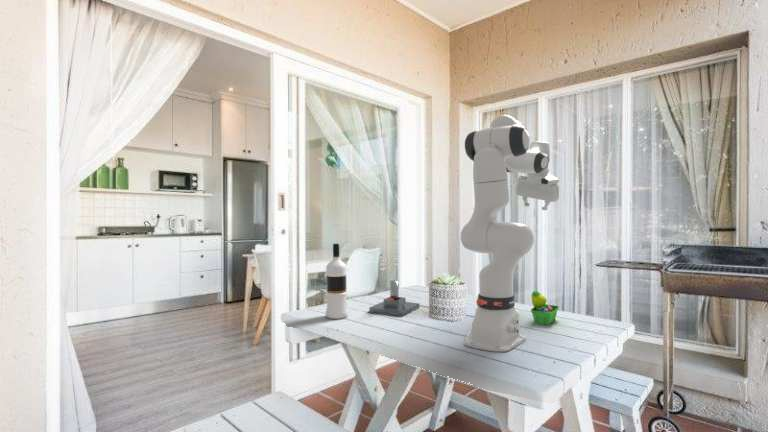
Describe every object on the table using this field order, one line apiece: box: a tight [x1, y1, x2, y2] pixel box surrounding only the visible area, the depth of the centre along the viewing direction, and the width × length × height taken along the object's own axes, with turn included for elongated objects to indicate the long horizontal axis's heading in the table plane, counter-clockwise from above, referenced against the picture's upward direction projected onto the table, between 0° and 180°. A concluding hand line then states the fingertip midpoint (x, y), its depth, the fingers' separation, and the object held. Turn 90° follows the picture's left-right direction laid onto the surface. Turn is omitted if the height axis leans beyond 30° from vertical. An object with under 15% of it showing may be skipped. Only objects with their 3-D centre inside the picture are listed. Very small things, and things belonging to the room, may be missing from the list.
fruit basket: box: [530, 290, 560, 326], centre depth 156 cm, size 11×9×11 cm
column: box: [389, 279, 400, 300], centre depth 176 cm, size 4×4×10 cm
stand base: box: [368, 296, 420, 317], centre depth 176 cm, size 16×16×6 cm
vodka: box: [325, 243, 350, 320], centre depth 166 cm, size 9×9×30 cm
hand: (535, 208), depth 184 cm, fingers open, 8 cm apart
